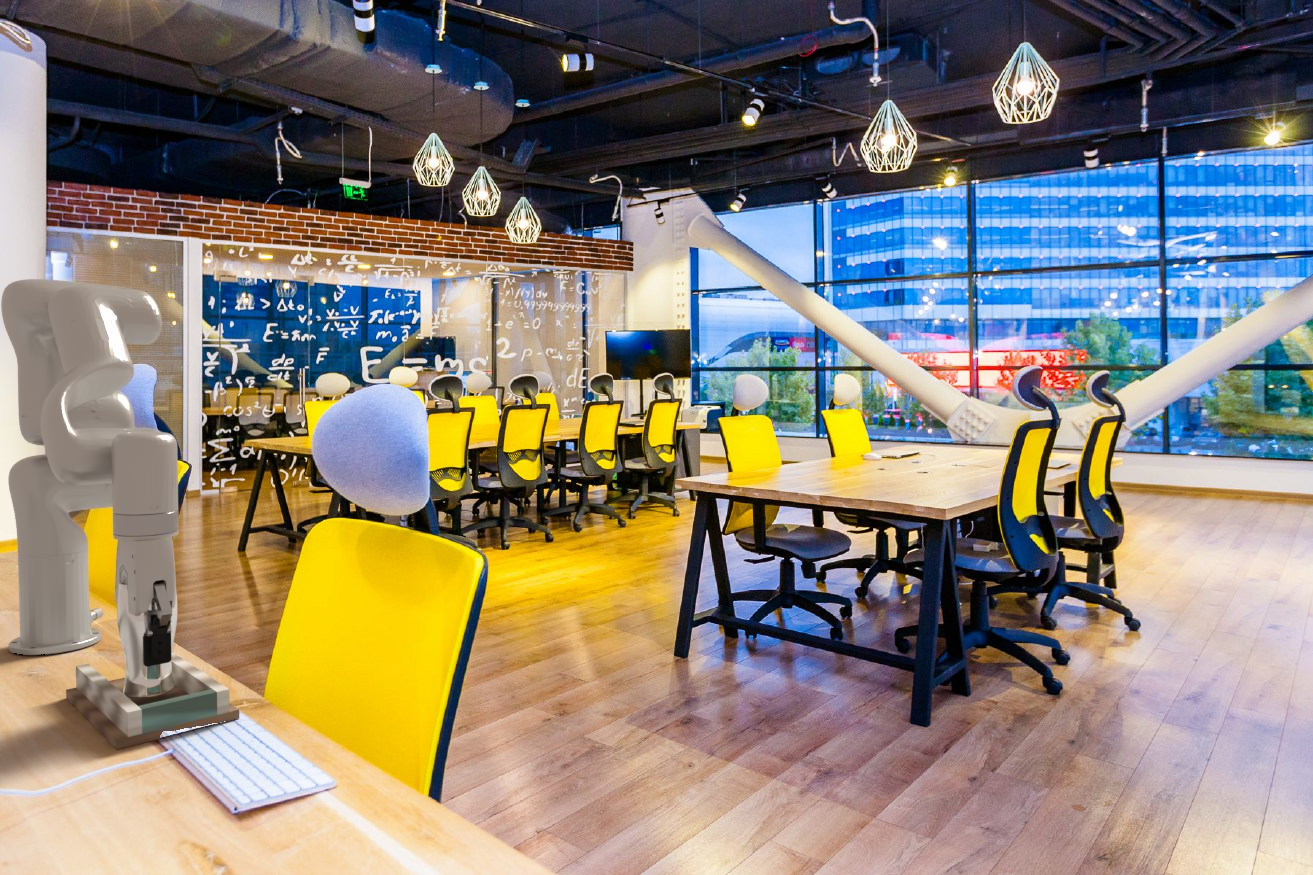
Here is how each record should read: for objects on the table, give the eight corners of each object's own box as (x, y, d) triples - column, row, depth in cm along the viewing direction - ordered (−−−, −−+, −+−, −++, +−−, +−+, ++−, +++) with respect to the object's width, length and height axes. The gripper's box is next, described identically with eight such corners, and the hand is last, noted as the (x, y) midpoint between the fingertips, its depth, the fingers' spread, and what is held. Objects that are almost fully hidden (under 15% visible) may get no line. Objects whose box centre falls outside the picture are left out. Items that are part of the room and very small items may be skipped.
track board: (66, 698, 120) (65, 668, 119) (176, 674, 130) (176, 647, 130) (117, 749, 103) (116, 715, 103) (239, 718, 113) (238, 686, 113)
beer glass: (190, 686, 118) (188, 577, 117) (141, 702, 112) (139, 588, 111) (156, 678, 121) (154, 572, 120) (106, 694, 115) (104, 582, 114)
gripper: (95, 520, 118) (98, 649, 119) (134, 536, 106) (137, 680, 107) (156, 514, 124) (158, 638, 125) (200, 530, 112) (202, 666, 113)
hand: (148, 656), depth 116 cm, fingers closed on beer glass, 6 cm apart
